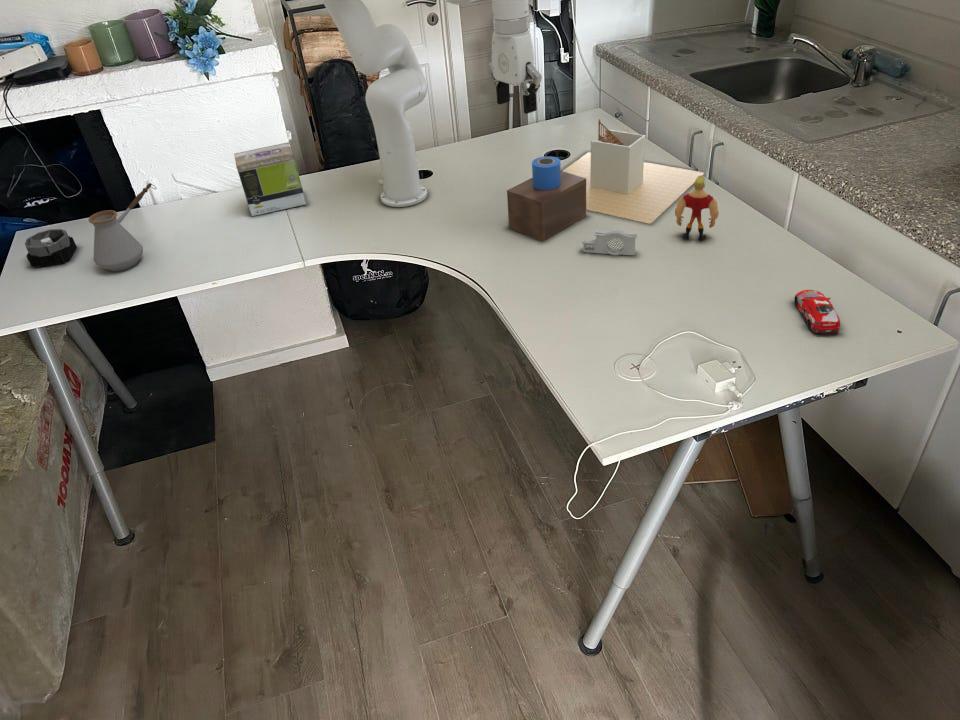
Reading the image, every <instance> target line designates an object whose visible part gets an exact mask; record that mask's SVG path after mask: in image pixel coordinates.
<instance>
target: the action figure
mask: <svg viewBox="0 0 960 720" xmlns="http://www.w3.org/2000/svg"><path fill="white" fill-rule="evenodd" d="M693 187H694V190H692V191H691V192H689V193H686V194H683V196H682V197H680V198H678V201H677V204H676V207H675V209H674V216H675V218H676V224H677V225H678V227H682V225H683V224H682V223H683V220H682V219H685V217H684V215H683V213H684V210H685V208H689V209H691V215H690V219H689V222H688V223H687V224H686V227H685V232H683V233H682V235H681V237H682V238H683V239H684V240H686V241H688V240H690V233H691V230H692V229H693V224H694V222H695V220H696V221H697V225H698V226H697V231H698V241H699V242H702V241H704V240H705V239H707V235H706V234H705V233H704V232H705V231H704V225H703V222H702V211H703V210H705V209H706V210H707V209H708V210H709V215H710V217H709V218H708V220H709V225H708V228H709V229H711V228H713V227H714V226H715V225H716V220H717V219H718V217H719V214H720V212H719V208H718V207H719V206H718V202H717V200H716V199H715V198H714V197H713V196H712V195H711V194H709V193H707V192H705V190H704V188H705V187H706V184H705V178H704V176H703V175H702V176H698V177H697V178H696V180H695V183H693Z"/></svg>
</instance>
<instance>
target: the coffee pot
mask: <svg viewBox="0 0 960 720" xmlns="http://www.w3.org/2000/svg"><path fill="white" fill-rule="evenodd" d="M150 188H151V189H153V190H157V187H156V186H155V185H154V184H153V183H151V182H149V183H147V184H146V186H145V187H143V188H142V190H141V192H139V193H138V194H137V195H136V196H135V197H134V199H133V200H132V202H130V204H129V205H128V207H127V208H126V210H124V211H123V213H122V214H120V216H119V217H118V218H117V216H118V213H117V211H115V210H112V209H108V210H102V211H98V212H96V213H93V214H92V215H90V216H89V217H88V222H89V224H92V226H93V227H94V233H93V236H94V237H93V258H92V259H93V262H94V263H95V264H96V265H97V266H98V267H99V268H102V269H103V270H107V271H109V272H122V271H126V270H128V269H130V268H132V267H134V266H135V265H137V264H138V263H139V261H140V260H141V257H142V256H143V254H144V247H143V245H142V244H141V242H139V240H137V239H136V238H135V237H134V236H133V235H132V234H131V232H129V231H128V230H127V229H126V228H125V227H124V226H123V225H122V224H121V223H122V222H123V220H124V219H125V218H126V216H128V214H129V213H130V211H132V210H133V209H134V208H135V207H136V205H138V203H140V201H141V200H142V199H143V197H144V196H145V194H146V193H148V191H149V189H150Z"/></svg>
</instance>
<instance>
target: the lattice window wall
mask: <svg viewBox="0 0 960 720" xmlns="http://www.w3.org/2000/svg"><path fill="white" fill-rule="evenodd" d="M594 236H595V238H594V239H592V238H591V239H589V238H588V239H586V238H583V239H582V240H581V241H582V242H581V243H582V252H583V253H587V254H588V253H590V254H604V255H605V254H606V255H611V256H619V255H620V256H621V255H622V256H635V255H636V241H637V240H636V239H637V238H638V233H637V232H634V233H629V232H626V231H624V230H621V229H619V228H618V229H610V230H606V231H597V230H595V231H594Z"/></svg>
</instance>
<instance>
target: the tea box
mask: <svg viewBox="0 0 960 720" xmlns="http://www.w3.org/2000/svg"><path fill="white" fill-rule="evenodd" d="M233 155H234V161H235V167H236V170H237V174H238V177H239V181H240V183H241V186H242V190H243V194H244V196H245V199H246V202H247V206H248V208H249V212H250V215H251V216H252V217H255V216H260V215H265V214H268V213H269V214H270V213H273V212H278V211H282V210H286V209H291V208H295V207H300V206H304V205H307V201H306V198H305V193H304V189H303V186H302V182H301V179H300V178H301V177H300V174H299V170H298V166H297V162H296V159H295V155H294V152H293V150H292V148H291V145H290V142H283V143H278V144H273V145H269V146H264V147H259V148H255V149H249V150H245V151H240V152H235V153H234V154H233Z"/></svg>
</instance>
